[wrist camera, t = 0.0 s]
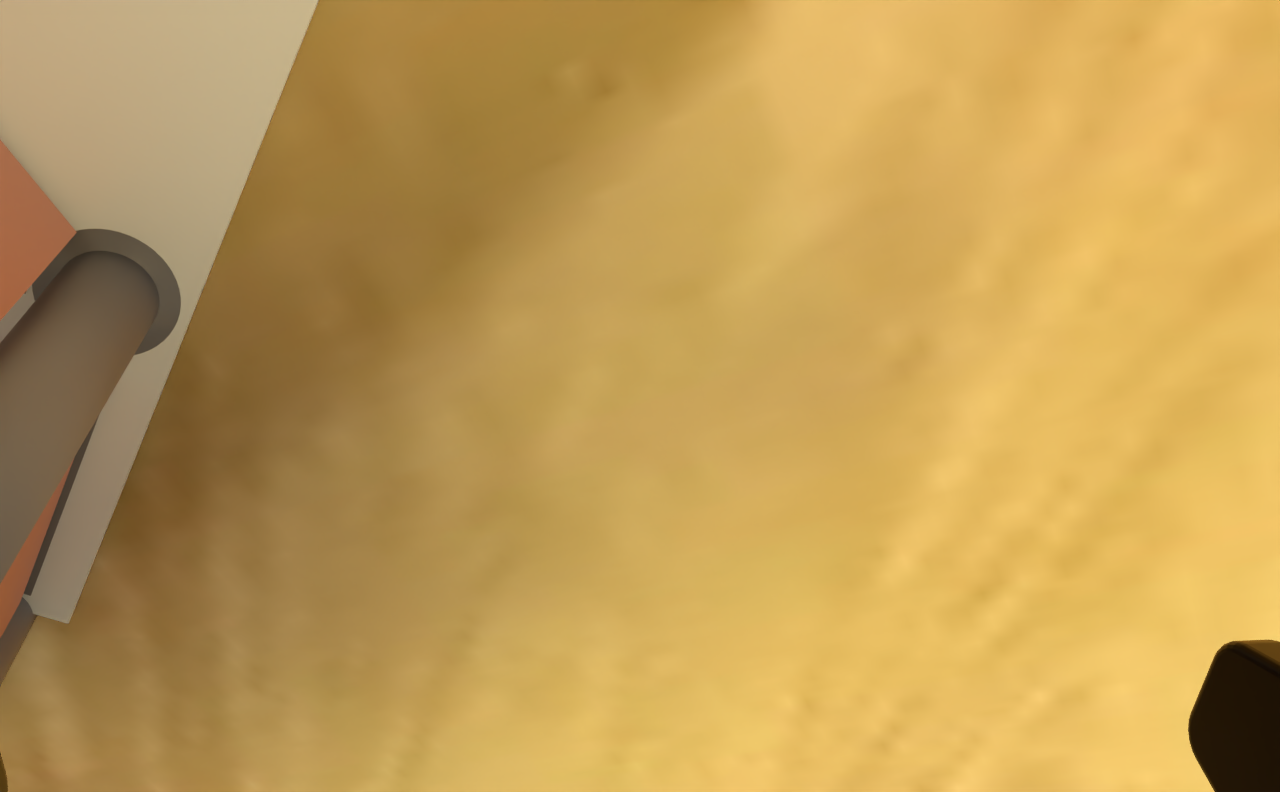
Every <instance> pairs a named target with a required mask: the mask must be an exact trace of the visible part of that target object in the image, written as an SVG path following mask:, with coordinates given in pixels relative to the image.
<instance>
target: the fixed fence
mask: <svg viewBox="0 0 1280 792" xmlns="http://www.w3.org/2000/svg"><path fill="white" fill-rule="evenodd" d="M158 310H159V294H158V290H157V287H156V285H155V283H154V281H153V279H152V278H151V276H150V275H149V274H148V272H147V271H146V270H145V269H144V268H143V267H142V266H140V265H139V264H138V263H136V262H135V261H133V260H132V259H130V258H128V257H126V256H124V255H121V254H118V253H114V252H109V251H91V252H86V253H83V254H80V255H78V256H76V257H74V258H72V259H71V260H70V261H69V262H67V264H66V265H65V266H64V267H63V268H62V269H61V271H60V272H59V273H58V274H57V275H56V277H55V278H54V279H53V280H52V281H51V283H50V284H49V285H48V286H47V287H46V289H45V290H44V291H43V292H42V293H41V295H40V296H39V297H38V298H37V299H36V301H35V302H34V303H33V304H32V305H31V307H30V308H29V309H28V310H27V311H26V313H25V314H24V315H23V316H22V317H21V319H20V320H19V321H18V322H17V323H16V325H15V326H14V327H13V328H12V329H11V331H10V332H9V333H8V334H7V335H6V337H5V338H4V339H3V340H2V341H1V343H0V686H1V684H2V682H3V680H4V678H5V676H6V674H7V672H8V670H9V668H10V667H11V665H12V663H13V661H14V659H15V657H16V655H17V653H18V651H19V649H20V647H21V645H22V643H23V641H24V640H25V638H26V636H27V634H28V632H29V630H30V628H31V626H32V624H33V622H34V620H35V618H36V616H37V615H35V614H33V612H32V609H31V607H30V605H29V604H28V602H27V601H26V600H25V599H24V598H23V597H22V596H23V594H24V591H25V588H26V585H27V583H28V580H29V577H30V575H31V572H32V569H33V567H34V564H35V561H36V559H37V556H38V553H39V551H40V548H41V545H42V543H43V540H44V537H45V535H46V532H47V529H48V527H49V524H50V521H51V519H52V516H53V513H54V511H55V508H56V505H57V503H58V500H59V497H60V495H61V492H62V489H63V487H64V484H65V481H66V479H67V476H68V473H69V471H70V468H71V465H72V463H73V460H74V457H75V455H76V454H77V452H78V450H79V448H80V447H81V445H82V443H83V442H84V440H85V438H86V436H87V435H88V433H89V431H90V430H91V428H92V426H93V424H94V423H95V421H96V419H97V418H98V416H99V414H100V412H101V411H102V409H103V407H104V406H105V404H106V402H107V400H108V399H109V397H110V395H111V394H112V392H113V390H114V388H115V387H116V385H117V383H118V382H119V380H120V378H121V376H122V375H123V373H124V371H125V370H126V368H127V366H128V364H129V363H130V361H131V359H132V358H133V356H134V354H135V353H136V351H137V349H138V347H139V346H140V344H141V342H142V341H143V339H144V337H145V335H146V334H147V332H148V330H149V329H150V327H151V325H152V323H153V322H154V320H155V318H156V316H157V313H158Z"/></svg>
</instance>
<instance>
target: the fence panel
mask: <svg viewBox="0 0 1280 792" xmlns="http://www.w3.org/2000/svg"><path fill="white" fill-rule="evenodd" d="M76 233H77V232H76V231H75V229H74V228H73V227H72V226H71V225H70V223H69V222H68V221H67V220H66V219H65V217H64V216H63V215H62V214H61V212H60V211H59V210H58V209H57V208H56V206H55V205H54V204H53V203H52V202H51V200H50V199H49V198H48V197H47V195H46V194H45V193H44V192H43V191H42V189H41V188H40V187H39V186H38V185H37V183H36V182H35V181H34V180H33V179H32V177H31V176H30V175H29V174H28V172H27V171H26V170H25V169H24V168H23V166H22V165H21V164H20V163H19V162H18V160H17V159H16V158H15V157H14V156H13V154H12V153H11V152H10V151H9V149H8V148H7V147H6V146H5V145H4V143H3V142H2V141H1V140H0V321H1V319H2V318H3V317H4V316H5V315H6V314H7V313H8V311H9V310H10V309H11V308H12V307H13V306H14V304H15V303H16V302H17V301H18V300H19V299H20V298H21V296H22V295H23V294H24V293H25V292H26V291H27V289H28V288H29V287H30V286H31V285H32V284H33V283H34V281H35V280H36V279H37V278H38V277H39V276H40V274H41V273H42V272H43V271H44V270H45V269H46V267H47V266H48V265H49V264H50V263H51V262H52V261H53V259H54V258H55V257H56V256H57V255H58V254H59V252H60V251H61V250H62V249H63V248H64V247H65V246H66V244H67V243H68V242H69V241H70V240H71V239H72V237H73V236H74V235H75V234H76Z"/></svg>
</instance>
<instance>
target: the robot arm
mask: <svg viewBox="0 0 1280 792" xmlns="http://www.w3.org/2000/svg"><path fill="white" fill-rule="evenodd" d="M1188 732H1189V740H1190V744H1191V747H1192V751H1193V753H1194V755H1195V757H1196V759H1197V761H1198V763H1199V765H1200V766H1201V768H1202V770H1203V772H1204V774H1205V775H1206V777H1207V779H1208V781H1209V782H1210V784H1211V786H1212V788H1213V790H1214V791H1215V792H1280V642H1278V641H1274V640H1250V641H1233V642H1229V643H1227V644H1224V645H1223V646H1222V647H1221V648H1220V649H1219V650H1218V651H1217V653H1216V655H1215V656H1214V659H1213V661H1212V664H1211V666H1210V668H1209V671H1208V673H1207V676H1206V678H1205V680H1204V683H1203V685H1202V688H1201V690H1200V692H1199V695H1198V697H1197V700H1196V702H1195V704H1194V707H1193V709H1192V712H1191V715H1190V718H1189V727H1188ZM0 792H8V784H7V776H6V771H5V768H4V764H3V760H2V757H1V753H0Z"/></svg>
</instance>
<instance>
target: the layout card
mask: <svg viewBox="0 0 1280 792" xmlns="http://www.w3.org/2000/svg"><path fill="white" fill-rule="evenodd" d="M318 2H319V0H0V140H1V141H2V142H3V143H4V145H5V146H6V147H7V148H8V149H9V151H10V152H11V153H12V154H13V156H14V157H15V158H16V159H17V160H18V162H19V163H20V164H21V165H22V166H23V168H24V169H25V170H26V171H27V172H28V174H29V175H30V176H31V177H32V179H33V180H34V181H35V182H36V183H37V185H38V186H39V187H40V188H41V189H42V191H43V192H44V193H45V194H46V195H47V197H48V198H49V199H50V200H51V202H52V203H53V204H54V205H55V206H56V208H57V209H58V210H59V211H60V212H61V214H62V215H63V216H64V217H65V219H66V220H67V221H68V222H69V223H70V225H71V226H72V227H73V228H74V229H75V231H76V232H77V233H76V234H75V235H74V236H73V237H72V239H71V240H70V241H69V242H68V243H67V244H66V246H65V247H64V248H63V249H62V250H61V251H60V252H59V254H58V255H57V256H56V257H55V258H54V259H53V261H52V262H51V263H50V264H49V265H48V266H47V267H46V269H45V270H44V271H43V272H42V273H41V274H40V276H39V277H38V278H37V279H36V280H35V281H34V283H33V284H32V285H31V286H30V287H29V288H28V289H27V291H26V292H25V293H24V294H23V295H22V296H21V298H20V299H19V300H18V301H17V302H16V303H15V304H14V306H13V307H12V308H11V309H10V310H9V311H8V313H7V314H6V315H5V316H4V317H3V318H2V319H1V321H0V343H1V341H2V340H3V339H4V338H5V337H6V335H7V334H8V333H9V332H10V331H11V329H12V328H13V327H14V326H15V325H16V323H17V322H18V321H19V320H20V319H21V317H22V316H23V315H24V314H25V313H26V311H27V310H28V309H29V308H30V307H31V305H32V304H33V303H34V302H35V301H36V299H37V298H38V297H39V296H40V295H41V293H42V292H43V291H44V290H45V289H46V287H47V286H48V285H49V284H50V283H51V281H52V280H53V279H54V278H55V277H56V275H57V274H58V273H59V272H60V271H61V269H62V268H63V267H64V266H65V265H66V264H67V262H69V261H70V260H71V259H72V258H74V257H76V256H78V255H80V254H83V253H86V252H91V251H109V252H114V253H118V254H121V255H124V256H126V257H128V258H130V259H132V260H133V261H135V262H136V263H138V264H139V265H140V266H142V267H143V268H144V269H145V270H146V271H147V272H148V274H149V275H150V276H151V278H152V279H153V281H154V283H155V285H156V287H157V290H158V294H159V310H158V313H157V316H156V318H155V320H154V322H153V323H152V325H151V327H150V329H149V330H148V332H147V334H146V335H145V337H144V339H143V341H142V342H141V344H140V346H139V347H138V349H137V351H136V353H135V354H134V356H133V358H132V359H131V361H130V363H129V364H128V366H127V368H126V370H125V371H124V373H123V375H122V376H121V378H120V380H119V382H118V383H117V385H116V387H115V388H114V390H113V392H112V394H111V395H110V397H109V399H108V400H107V402H106V404H105V406H104V407H103V409H102V411H101V412H100V414H99V416H98V418H97V419H96V421H95V423H94V424H93V426H92V428H91V430H90V431H89V433H88V435H87V436H86V438H85V440H84V442H83V443H82V445H81V447H80V448H79V450H78V452H77V454H76V455H75V457H74V460H73V463H72V465H71V468H70V471H69V473H68V476H67V479H66V481H65V484H64V487H63V489H62V492H61V495H60V497H59V500H58V503H57V505H56V508H55V511H54V513H53V516H52V519H51V521H50V524H49V527H48V529H47V532H46V535H45V537H44V540H43V543H42V545H41V548H40V551H39V553H38V556H37V559H36V561H35V564H34V567H33V569H32V572H31V575H30V577H29V580H28V583H27V585H26V588H25V591H24V594H23V596H22V597H23V598H24V599H25V600H26V601H27V602H28V604H29V605H30V607H31V609H32V612H33V614H35V615H39V616H42V617H46V618H49V619H53V620H56V621H60V622H63V623H67V624H68V623H69V621H70V619H71V617H72V615H73V612H74V610H75V608H76V605H77V603H78V600H79V598H80V595H81V593H82V590H83V588H84V585H85V583H86V580H87V578H88V575H89V573H90V570H91V568H92V565H93V563H94V560H95V558H96V555H97V553H98V550H99V548H100V545H101V543H102V540H103V538H104V535H105V533H106V530H107V528H108V525H109V523H110V520H111V518H112V515H113V513H114V510H115V508H116V505H117V503H118V500H119V498H120V495H121V493H122V490H123V488H124V485H125V483H126V480H127V478H128V475H129V473H130V470H131V468H132V465H133V463H134V460H135V458H136V455H137V453H138V450H139V448H140V445H141V443H142V440H143V438H144V435H145V433H146V431H147V428H148V426H149V423H150V421H151V418H152V416H153V413H154V411H155V408H156V406H157V403H158V401H159V398H160V396H161V393H162V391H163V388H164V386H165V383H166V381H167V378H168V376H169V373H170V371H171V368H172V366H173V363H174V361H175V358H176V356H177V353H178V351H179V348H180V346H181V343H182V341H183V338H184V336H185V333H186V331H187V328H188V326H189V323H190V321H191V318H192V316H193V313H194V311H195V308H196V306H197V303H198V301H199V298H200V296H201V293H202V291H203V288H204V286H205V283H206V281H207V278H208V276H209V273H210V271H211V268H212V266H213V263H214V261H215V259H216V256H217V254H218V251H219V249H220V246H221V244H222V241H223V239H224V236H225V234H226V231H227V229H228V226H229V224H230V221H231V219H232V216H233V214H234V211H235V209H236V206H237V204H238V201H239V199H240V196H241V194H242V191H243V189H244V186H245V184H246V181H247V179H248V176H249V174H250V171H251V169H252V166H253V164H254V161H255V159H256V156H257V154H258V151H259V149H260V146H261V144H262V141H263V139H264V136H265V134H266V131H267V129H268V126H269V124H270V121H271V119H272V116H273V114H274V111H275V109H276V106H277V104H278V101H279V99H280V96H281V94H282V91H283V89H284V87H285V84H286V82H287V79H288V77H289V74H290V72H291V69H292V67H293V64H294V62H295V59H296V57H297V54H298V52H299V49H300V47H301V44H302V42H303V39H304V37H305V34H306V32H307V29H308V27H309V24H310V22H311V19H312V17H313V14H314V12H315V9H316V7H317V4H318Z"/></svg>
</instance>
